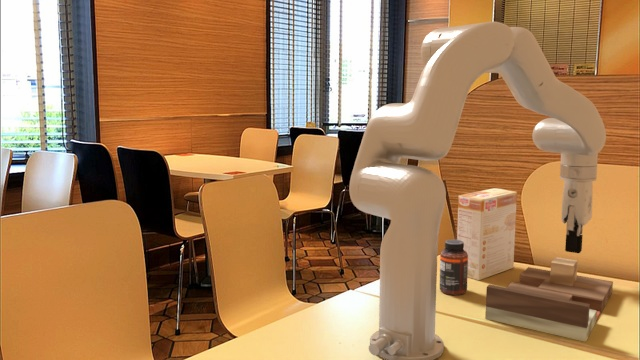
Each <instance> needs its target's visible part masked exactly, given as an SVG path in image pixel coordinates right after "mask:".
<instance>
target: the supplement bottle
mask: <svg viewBox="0 0 640 360" xmlns="http://www.w3.org/2000/svg"><path fill="white" fill-rule="evenodd" d="M444 247H445V248H444V249H442V251H441V252H440V255H439V256H440V257H439V262H440V263H439V290H440V291H441V292H442V293H443V294H447V295H451V296H453V295H454V296H459V295H464V294H465V293H466V292H467V291H468V277H467V274H468V254H467V252H466V251H464V249H463V248H464V242H463V241H461V240H457V239H446V240H445V242H444Z"/></svg>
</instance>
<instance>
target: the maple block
mask: <svg viewBox="0 0 640 360" xmlns="http://www.w3.org/2000/svg"><path fill="white" fill-rule="evenodd" d="M578 263H579V262H578V260H576V259H575V260H574V259H570V258H562V257H554V258H553V260H552V261H551V262H550V270H549V271H550V282H552V283H557V284H563V285H568V286H572V285H573V284H574V283H575V281H576V277H577V275H578V274H577V273H578Z"/></svg>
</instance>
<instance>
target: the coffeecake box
mask: <svg viewBox="0 0 640 360" xmlns="http://www.w3.org/2000/svg"><path fill="white" fill-rule="evenodd" d="M517 198H518V191H516V190H515V191H514V190H507V189H504V188H496V187H495V188H494V187H493V188H490V189H489V188H488V189H484V190H479V191H474V192H469V193H464V194H461V195H458V200H457V201H458V202H457V203H458V204H457V205H458V207H457V228H456V230H457V233H456V236H457V237H456V240H461V241H463V242H464V248H463V249H464V251H466V252H467V254H468V274H467V278H470V279H473V280H475V281H481V280H483V279H487V278H489V277H492V276H495V275H497V274H499V273H503V272H506V271H509V270H510V269H513V268H514V265H515V263H514V261H515V260H514V259H515V243H516V242H515V241H516V240H515V238H516V225H517V224H516V222H517V221H516V220H517V201H518V199H517Z"/></svg>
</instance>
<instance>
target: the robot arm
mask: <svg viewBox="0 0 640 360" xmlns="http://www.w3.org/2000/svg"><path fill="white" fill-rule="evenodd" d="M420 57H421V61H422V63H423V65H424V68H423V70H422V71H421V73H420V76H419V79H418V81H417V84H416V87H415V90H414V92H413V95H412V97H411V100H410V101H409V102H407V103H406V102H405V103H404V102H403V103H400V102H399V103H398V102H395V103H388V104H384V105H382V106H380V107H379V108H378V109H377V110H376V111H374V113H373V114H372V115H371V117H370V118H369V120H368V122H367V124H366V127H365V130H364V132H363V136H362V139H361V143H360V145H359V148H358V152H357V155H356V158H355V161H354V165H353V169H352V171H351V175H350V180H349V189H348V190H349V191H348V192H349V196H350V200H351V203H352V204H353V206H354V207H356V209H357V210H359V211H361V212H363V213H365V214H369V215H373V216H376V217H380V218H384V219H387V220H390V223H389V226H388V229H387V230H386V231H385V234H384V235H383V237H382V240H381V244H380V250H379V251H380V252H379V260H380V261H379V308H378V309H379V313H378V314H379V317H378V318H379V319H378V320H379V321H378V322H379V323H378V330H377V331H375V332H373V334H372V335H371V336H370V338H369V346H368V351H369V353H370V354H371V355H373V356H378V357H381V358H382V359H384V360H436V359H438V358H439V357H441V356H442V355H443V352H444V348H445V344H444V343H445V342H444V341H443V339H442V338H441V337H440V336H439V335H437V334H436V311H437V310H436V308H437V278H438V277H437V275H438V247H439V234H440V227H441V223H442V222H441V221H442V218H443V213H444V209H445V205H446V197H447V191H446V186H445V183H444V181H443V180H442V178H441V177H440V176H439V175H438V174H437V173H436V172H434V171H432V170H431V169H428V168H426V167H422V166H418V165H412V164H406V163H405V164H404V163H401V159H410V160H415V161H416V160H417V161H429V162H430V161H439V160H441V159H444V158H445V157H446V156H447V155H448V153H449V152H450V149H451V147H452V145H453V142H454V139H455V136H456V133H457V130H458V127H459V122H460V119H461V117H462V113H463V110H464V107H465V102H466V100H467V97H468V95H469V91H470V89H471V88H472V86H473V84H475V82H476V81H477V80H478V79H479V78H480V77H481V76H482V75H484V74H489V73H490V74H493V73H494V74H499V76H501V78H502V80H503V81H504V83H505V85H506V86H507V87H508V89H509V91H510V92H511V95H513V97H514V99H515V101H516V103H518V105H520V106H521V107H523V108H524V109H527V110H528V111H532V112H534V113H537V114H539V115H542V116H547V117H548V118H544V119H542V120H540V121H539V122H538V123H537V124H536V125H535V126H534V127H533V129H532V130H533V131H532V136H531V137H532V142H533V144H534V145H535V147H536V148H537V149H539V150H540V151H543V152H545V153H546V152H547V153H553V154H560V167H559V169H560V170H559V179H560V180H563V188H562V189H563V191H562V202H561V222H562V223H563V224H566V234H565V246H564V248H565V249H564V251H565V252H567V253H568V252H569V253H575V254H581V253H582V249H583V231H584V229H583V228H584V226H585V225H587V224H588V223H589V222H590V220H592V217H593V194H594V192H593V188H594V187H593V182H595V181H597V175H598V174H597V172H598V158H599V153H600V152H601V151H602V149H604V147H605V144H606V140H607V133H606V131H607V130H606V127H605V124H604V121H603V119H602V117H601V115H600V112H599V111H598V109H597V107H596V106H595V104H594V103H593V101H591V100H590V99H589V98H588V97H586V96H585V95H584V94H582V93H581V92H579V91H578V90H575V88H573V87H572V86H569V85H568V84H566V83H565V82H563V81H561V80H559V79H558V78H557V77H556V74H555V73H554V70H553V69H552V67H551V65H550V63H549V62H548V60H547V58H546V56H545V54H544V52H543V50H542V48H541V46H540V44H539V43H538V40H537V39H536V37H535V36H534V34H533V32H531V31H530V30H529V29H527V28H525V27H523V26H508V25H507V24H505V23H502V22H499V21H487V22H479V23H471V24H464V25H457V26H456V25H455V26H448V27H447V26H446V27H439V28H436V29H433V30H432V31H430V32H429V33H428V34H427V35H425V37H424V39H423V40H422V43H421V47H420Z"/></svg>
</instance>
